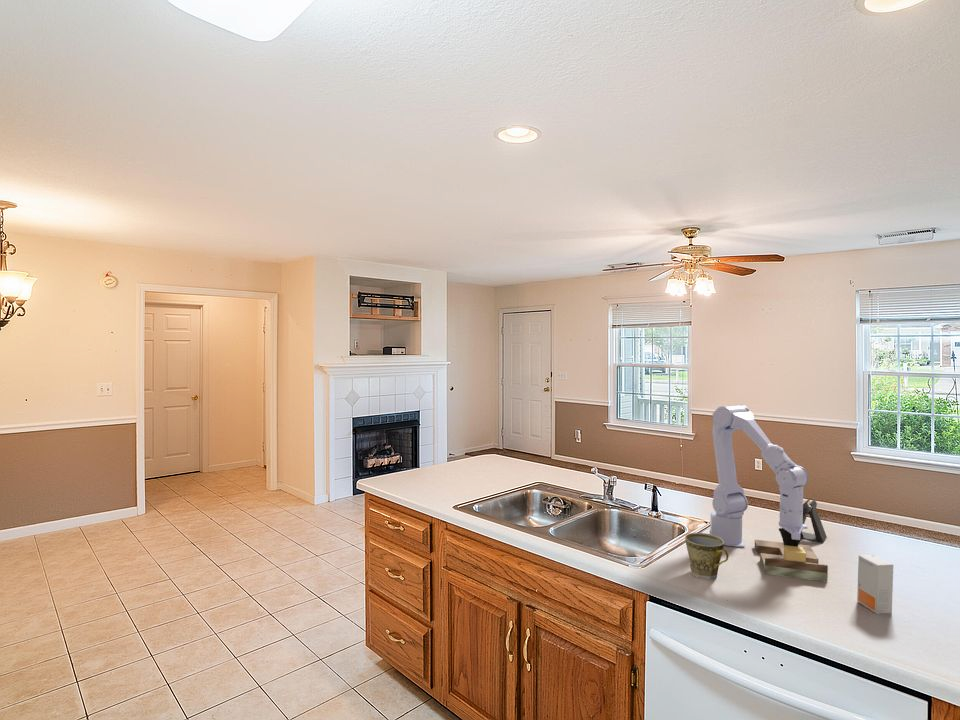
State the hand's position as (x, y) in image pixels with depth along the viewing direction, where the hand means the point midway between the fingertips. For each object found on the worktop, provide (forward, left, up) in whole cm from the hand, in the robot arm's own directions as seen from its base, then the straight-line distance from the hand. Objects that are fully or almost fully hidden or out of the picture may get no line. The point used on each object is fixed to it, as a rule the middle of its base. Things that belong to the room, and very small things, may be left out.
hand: (790, 555), depth 153 cm
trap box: (0, +3, -3) cm, 4 cm away
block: (0, -5, -1) cm, 5 cm away
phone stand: (+11, +28, -3) cm, 30 cm away
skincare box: (+15, -19, -3) cm, 24 cm away
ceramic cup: (-22, -14, -3) cm, 27 cm away
